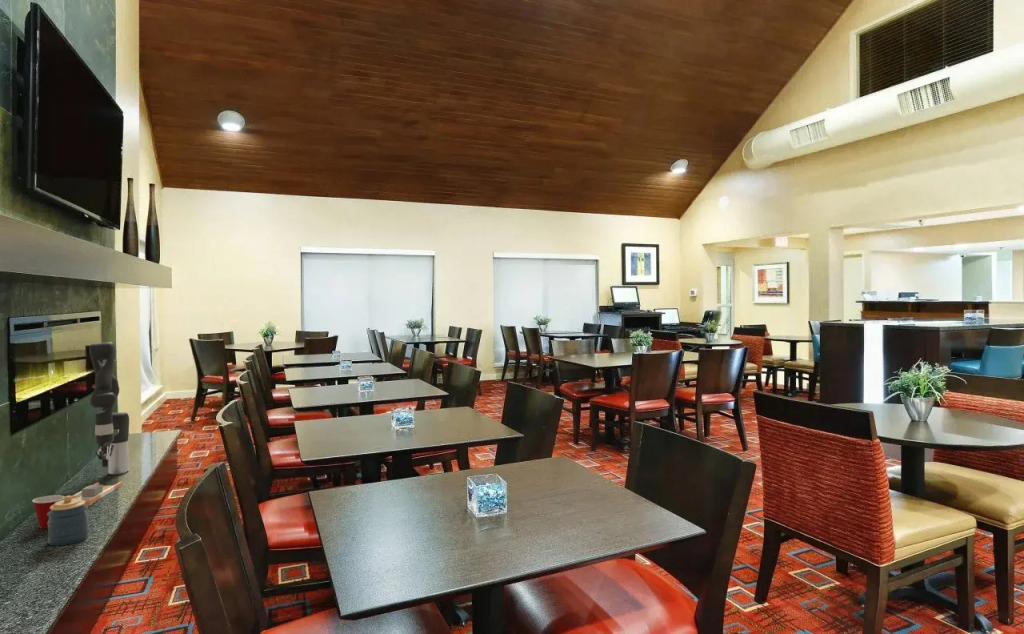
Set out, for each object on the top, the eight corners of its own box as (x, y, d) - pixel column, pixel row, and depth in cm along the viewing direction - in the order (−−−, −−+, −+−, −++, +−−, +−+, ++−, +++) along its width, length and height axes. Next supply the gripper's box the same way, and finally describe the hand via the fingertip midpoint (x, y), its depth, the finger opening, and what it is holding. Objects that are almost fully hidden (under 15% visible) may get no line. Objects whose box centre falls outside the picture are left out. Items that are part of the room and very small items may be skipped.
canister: (65, 533, 239) (64, 490, 238) (96, 533, 238) (95, 490, 238) (39, 546, 226) (38, 501, 225) (71, 546, 225) (70, 501, 225)
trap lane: (97, 487, 297) (97, 482, 297) (122, 486, 299) (122, 481, 299) (61, 507, 269) (61, 501, 269) (89, 505, 270) (89, 500, 270)
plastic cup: (71, 523, 249) (70, 495, 249) (41, 532, 239) (41, 503, 239) (56, 519, 253) (55, 492, 253) (27, 528, 244) (26, 499, 243)
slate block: (89, 493, 286) (89, 485, 286) (102, 492, 287) (102, 484, 287) (81, 497, 280) (81, 489, 280) (95, 497, 281) (95, 488, 281)
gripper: (103, 429, 299) (104, 462, 300) (88, 436, 286) (90, 471, 286) (119, 429, 300) (120, 462, 301) (105, 435, 287) (106, 470, 288)
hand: (105, 466), depth 294 cm, fingers closed
